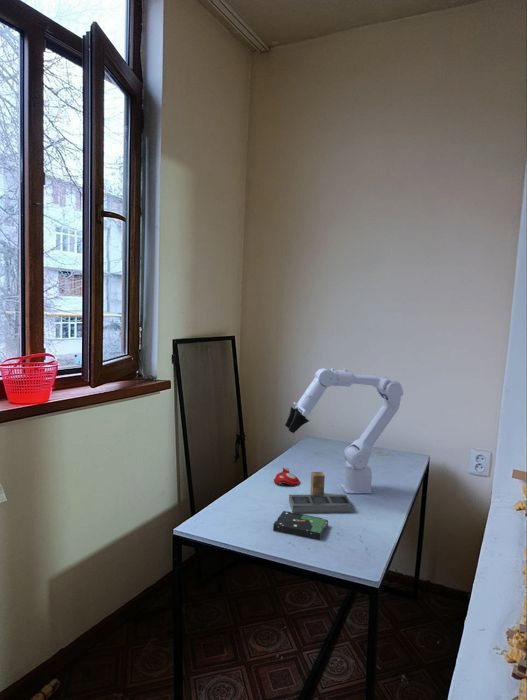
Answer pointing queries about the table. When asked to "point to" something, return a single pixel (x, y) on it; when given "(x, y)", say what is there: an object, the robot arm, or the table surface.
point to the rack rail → (320, 504)
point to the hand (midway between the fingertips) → (289, 429)
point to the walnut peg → (317, 483)
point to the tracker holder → (286, 478)
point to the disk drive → (301, 525)
